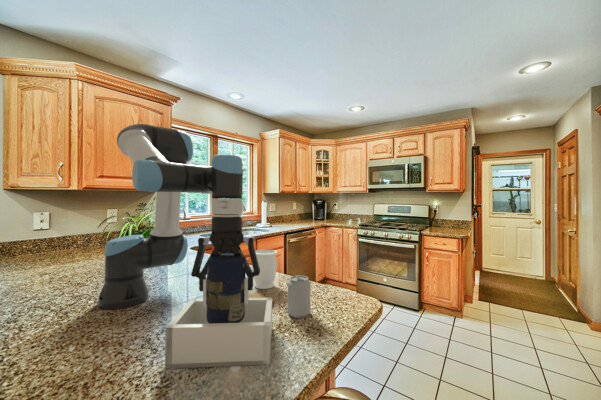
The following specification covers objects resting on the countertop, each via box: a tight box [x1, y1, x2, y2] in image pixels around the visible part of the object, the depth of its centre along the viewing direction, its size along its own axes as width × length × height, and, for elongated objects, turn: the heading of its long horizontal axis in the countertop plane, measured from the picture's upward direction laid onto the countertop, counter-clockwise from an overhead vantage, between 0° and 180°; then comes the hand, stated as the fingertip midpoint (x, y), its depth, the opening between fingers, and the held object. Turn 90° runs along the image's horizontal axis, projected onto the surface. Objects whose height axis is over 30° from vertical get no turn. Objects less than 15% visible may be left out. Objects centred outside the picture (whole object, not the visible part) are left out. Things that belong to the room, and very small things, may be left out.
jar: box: [251, 249, 278, 290], centre depth 109 cm, size 11×10×15 cm
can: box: [287, 274, 311, 319], centre depth 83 cm, size 8×8×12 cm
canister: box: [206, 252, 247, 324], centre depth 64 cm, size 10×10×18 cm
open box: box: [164, 297, 273, 370], centre depth 64 cm, size 23×16×9 cm
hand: (226, 303), depth 64 cm, fingers closed on canister, 9 cm apart
